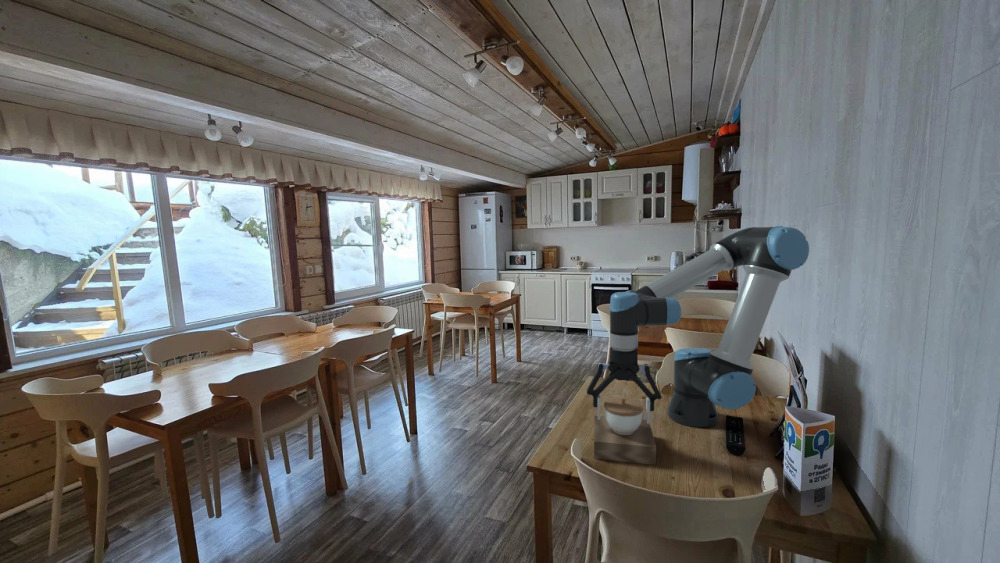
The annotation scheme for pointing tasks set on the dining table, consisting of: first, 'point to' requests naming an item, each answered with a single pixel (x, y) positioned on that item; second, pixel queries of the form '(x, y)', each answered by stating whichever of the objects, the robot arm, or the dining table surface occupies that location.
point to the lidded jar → (623, 414)
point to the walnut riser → (624, 443)
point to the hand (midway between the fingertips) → (622, 419)
